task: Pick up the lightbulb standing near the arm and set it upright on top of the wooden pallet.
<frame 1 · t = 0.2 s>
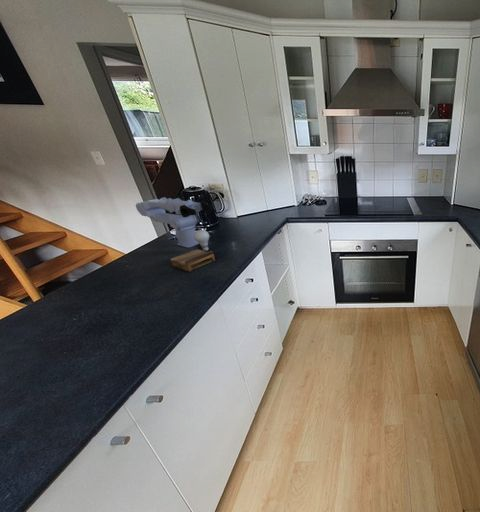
hand: (203, 210, 127), 21 cm above the worktop, tool horizontal, fingers open, 7 cm apart
wooden pallet: (194, 263, 124), on the worktop
lightbulb: (206, 251, 137), on the worktop
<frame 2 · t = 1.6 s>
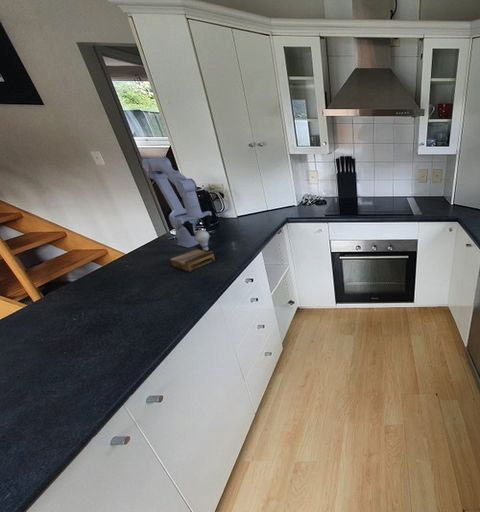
hand: (200, 233, 132), 9 cm above the worktop, tool pointing down, fingers open, 7 cm apart
nothing on the worktop moved.
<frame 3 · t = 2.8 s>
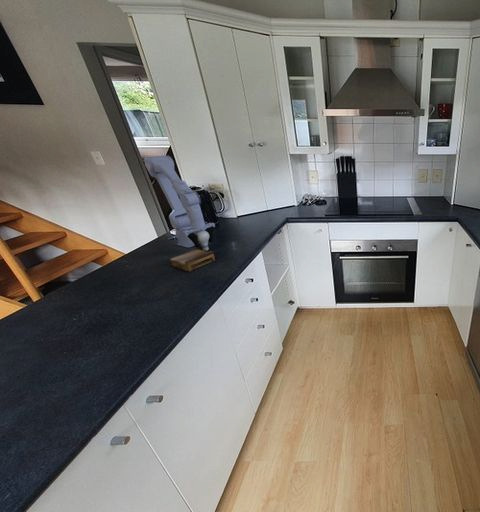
hand: (204, 244, 135), 3 cm above the worktop, tool pointing down, fingers closed on lightbulb, 6 cm apart
lightbulb: (206, 251, 137), on the worktop, touching gripper
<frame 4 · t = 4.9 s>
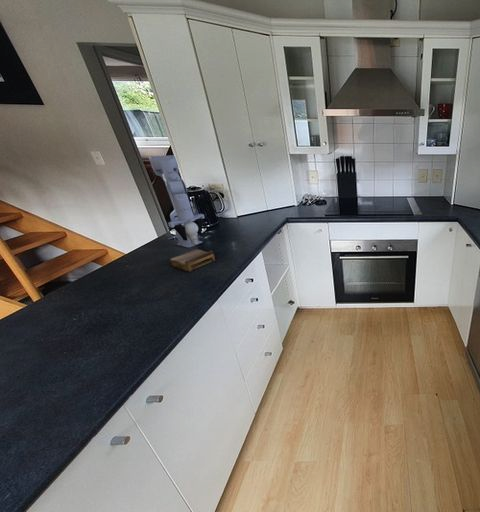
hand: (192, 237, 125), 10 cm above the worktop, tool pointing down, fingers closed on lightbulb, 6 cm apart
lightbulb: (195, 244, 126), point 7 cm above the worktop, touching gripper
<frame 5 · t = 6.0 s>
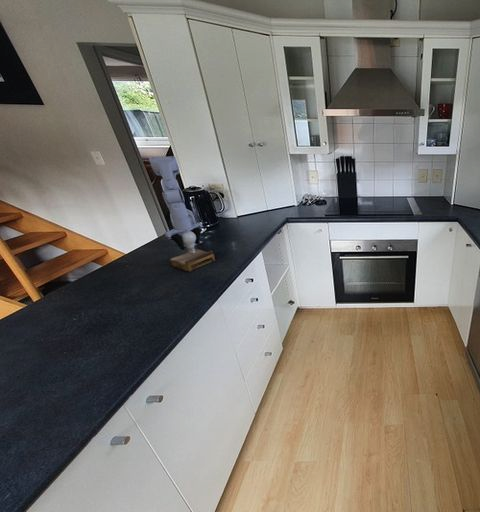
hand: (190, 246, 122), 8 cm above the worktop, tool pointing down, fingers closed on lightbulb, 6 cm apart
lightbulb: (192, 253, 124), point 4 cm above the worktop, touching gripper
when the fingers open (7 cm above the worktop, at t = 6.8 s): lightbulb stays where it is, resting on wooden pallet.
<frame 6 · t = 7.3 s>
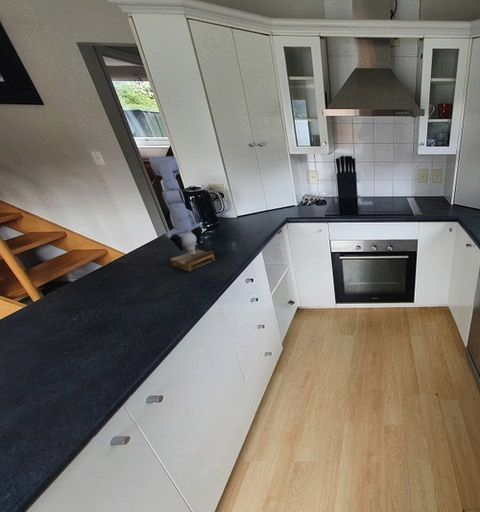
hand: (190, 246, 122), 8 cm above the worktop, tool pointing down, fingers open, 7 cm apart
lightbulb: (193, 255, 124), point 3 cm above the worktop, touching wooden pallet
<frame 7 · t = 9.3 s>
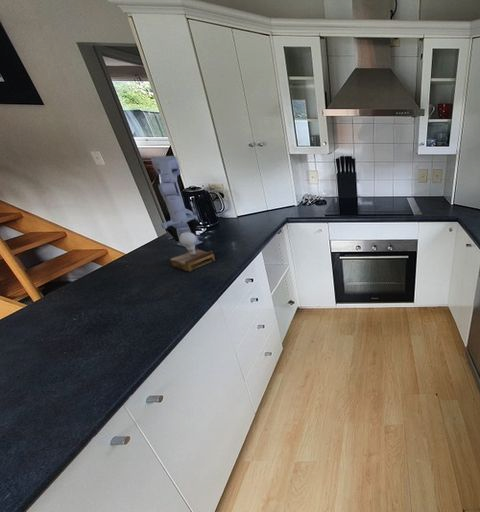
hand: (186, 238, 127), 9 cm above the worktop, tool pointing down, fingers open, 7 cm apart
nothing on the worktop moved.
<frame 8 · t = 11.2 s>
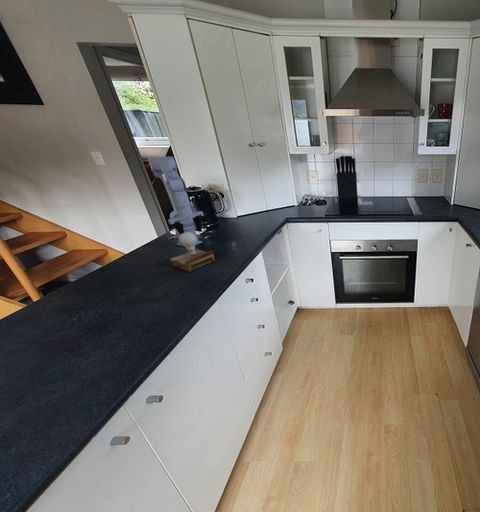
hand: (191, 234, 129), 10 cm above the worktop, tool pointing down, fingers open, 7 cm apart
nothing on the worktop moved.
at the end: lightbulb inside the target area on the wooden pallet (1.5 cm from its centre), point 3.3 cm above the wooden pallet's base; lightbulb tilted 0°; the gripper is holding nothing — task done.
